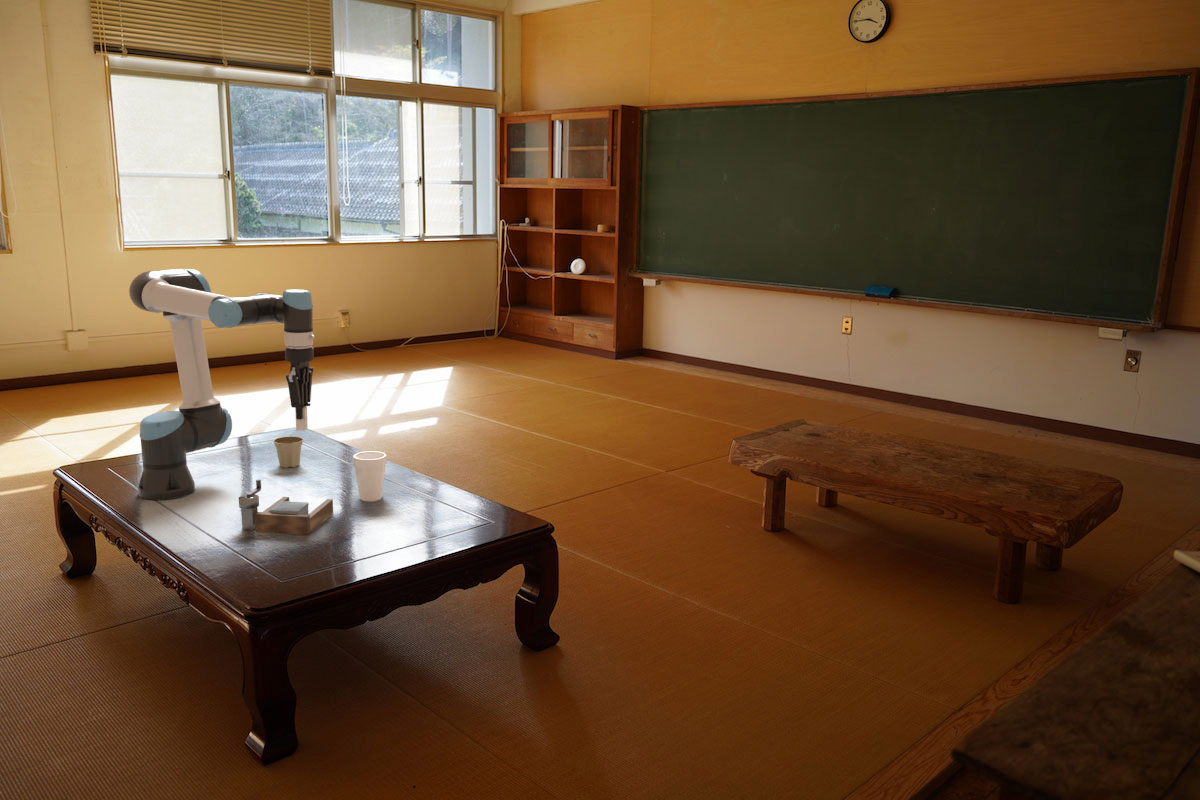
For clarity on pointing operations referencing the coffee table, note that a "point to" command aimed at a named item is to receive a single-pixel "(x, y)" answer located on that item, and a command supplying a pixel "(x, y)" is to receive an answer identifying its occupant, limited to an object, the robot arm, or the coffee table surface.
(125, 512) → the coffee table surface
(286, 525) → the bay
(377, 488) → the foam cup
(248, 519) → the winch
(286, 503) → the gray block
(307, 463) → the coffee table surface
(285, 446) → the flower pot
